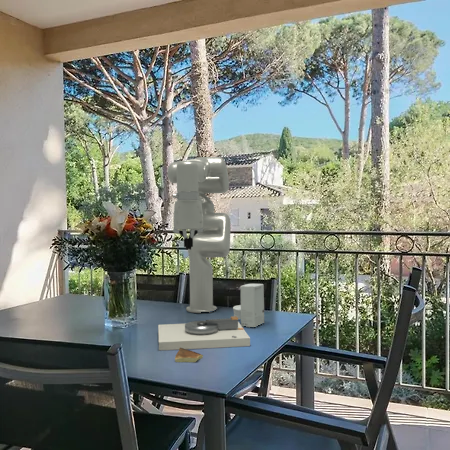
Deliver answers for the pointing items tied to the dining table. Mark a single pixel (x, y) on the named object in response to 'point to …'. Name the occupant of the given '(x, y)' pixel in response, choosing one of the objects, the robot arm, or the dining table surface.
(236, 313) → the ramekin
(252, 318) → the skincare box
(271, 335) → the dining table surface
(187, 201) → the robot arm
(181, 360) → the shard
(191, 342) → the board
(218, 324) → the dial
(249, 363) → the dining table surface
